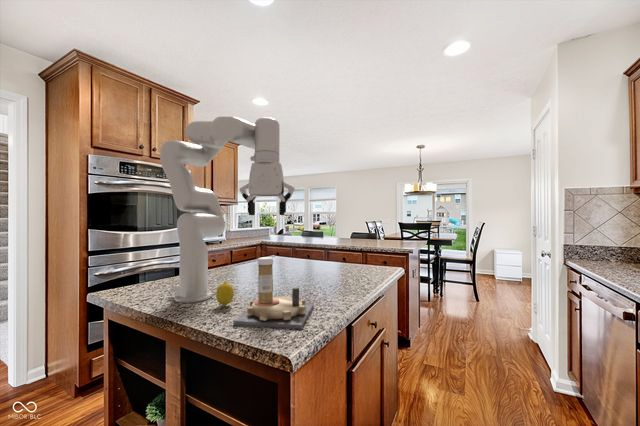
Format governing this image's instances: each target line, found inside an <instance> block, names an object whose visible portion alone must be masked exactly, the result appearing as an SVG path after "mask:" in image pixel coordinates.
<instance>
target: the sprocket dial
mask: <svg viewBox="0 0 640 426" xmlns="http://www.w3.org/2000/svg"><path fill="white" fill-rule="evenodd" d="M291 288H292V289H291V290H292V292H291V295H292V296H291V295H286V296H273V302H271V303H267V304H262V303H259V302H258V300H259V299H256V300H254V299H253V300H251V301H249V306H247V308H246V309H247V310H246V311H247V314H248V315H249V316H251V315H254V316H256V317H259V318H260V320H264V321H266V320H267V319H284V320H288V319H291V317H293V316H296V315H298V314H304V313H305V312H306V306H305V303H306V300H305V299H303V298H301V299H300V288H299V287H291Z"/></svg>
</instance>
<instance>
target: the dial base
mask: <svg viewBox="0 0 640 426" xmlns="http://www.w3.org/2000/svg"><path fill="white" fill-rule="evenodd" d="M305 306H306V312H305V313H304V314H298V315H296V316H293V317H291V319H288V320H284V319H267V320H266V321H264V320H260V318H259V317H256V316H254V315H251V316H249V315H248V314H247V310H245V311H244V312H243V313H241V314H240V315H239V316H238V317H236V318H235V319H234V320H233V323H232V324H233V326H239V327H241V326H242V327H255V328H256V327H257V328H270V329H272V328H273V329H290V330H302V329H303V327H304V325H305V323H306V322H307V320H308V318H309V316H310V314H311V313H312V311H313V310H314V308H315V305H314V302H312V303H311V302H305Z"/></svg>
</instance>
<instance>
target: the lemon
mask: <svg viewBox="0 0 640 426" xmlns="http://www.w3.org/2000/svg"><path fill="white" fill-rule="evenodd" d="M234 292H235V291H234V287H233V286H232V284H231V283H228V282H227V281H225V282H222V283H221V284H220V285H219V286H218V287H217V289H216V301H217V303H218V304H220V305H222V306H224V307H226V306H227V305H229V304H230V303H231V302H232V301H233V299H234V296H235V293H234Z"/></svg>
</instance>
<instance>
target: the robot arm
mask: <svg viewBox="0 0 640 426" xmlns="http://www.w3.org/2000/svg"><path fill="white" fill-rule="evenodd" d="M280 131H281V129H280V123H279V122H278V120H277V119H275V118H273V117H267V116H266V117H260V118H258V119H256V120H255V123H251V122H249V121H248V120H245V119H242V118H239V117H237V116H236V117H235V116H217V117H215V118H214V120H209V121H208V120H197V121H191V122H190V123H188V124H187V126H186V127H185V136H186V138H187V139H188V140H189V141H190V142H191V143H190V142H187V141H182V140H178V139H177V140H176V139H170V140H167V141H165V142H163V144H162V145H161V147H160V153H159V160H160V164H161V167H162V170H163V172H164V174H165V176H166V178H167V180H168V182H169V187H170V190H171V194H172V197H173V201H174V204H175V207H176V208H177V210H179V211H181V212H185V213H183V214H181V215H180V216H179V217H178V218H177V221H176V230H177V234H178V241H179V242H178V243H179V269H178V270H179V274H178V278H179V279H178V282H179V283H178V284H179V285H173V286H171V288H170V289H169V291H170V293H176V294H175V295H174V297H173V298H174V299H173V301H175V302H176V303H184V304H187V303H189V304H190V303H199V302H202V301H206V300H209V299H210V298H212V296H213V293H212V292H211V291H208V284H209V283H208V280H209V279H208V278H209V277H208V274H209V272H208V267H209V266H208V265H209V263H208V262H209V257H208V256H209V250H208V245H207V243H206V242H205V240H204V238H214V237H219V236H221V235H222V234H223V233H224V231H225V229H226V222H225V217H224V215H223V212H222V208H221V204H220V201H219V199H218V197H217V194H215V192H214V191H212V190H211V189H208V188H203V187H202V188H201V187H198V186H196V184H195V179H194V177H193V176H192V175H193V174H191V172H190V171H189V170H188V169H187V168H186V166H184V165H187V166H192V167H199V168H203V167H206V166H207V165H208V164H210V162H211V161H213V159H214V158H216V157H217V155H218V154H219V153H220V152H221V151H222V149H223V148H224V147H225V146H226V145H227V144H228V143H233V144H237V145H241V146H242V147H247V148H249V149H254V153H253V155H251V156H250V157H249V158H250V161H251V162H252V161H253V162H252V163H251V167H250V172H249V179H248V183H246V184H245V185H243V186H242V187H240V188H239V191H240V194H241V195H242V198H243V199H244V200H245V201H246V203H247V213H248V215H249V216H255V214H256V203H255V202H254V201H256V199H257V198H258V197H278V198H279V200H280V201H279V204H278V205H279V206H278V207H279V208H278V209H279V211H278V212H279V216H285V213H286V212H287V203H288V200H290V198H291V197H292V195H293V194H294V192H295V189H296V188H295V187H294V186H292V185H290V184H288V183H286V182H285V180H284V173H283V172H284V171H283V167H282V163H280ZM285 189H286V190H287V189H288V192H286V194H285V195H284V193H285ZM247 191H248V193H247Z"/></svg>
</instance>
